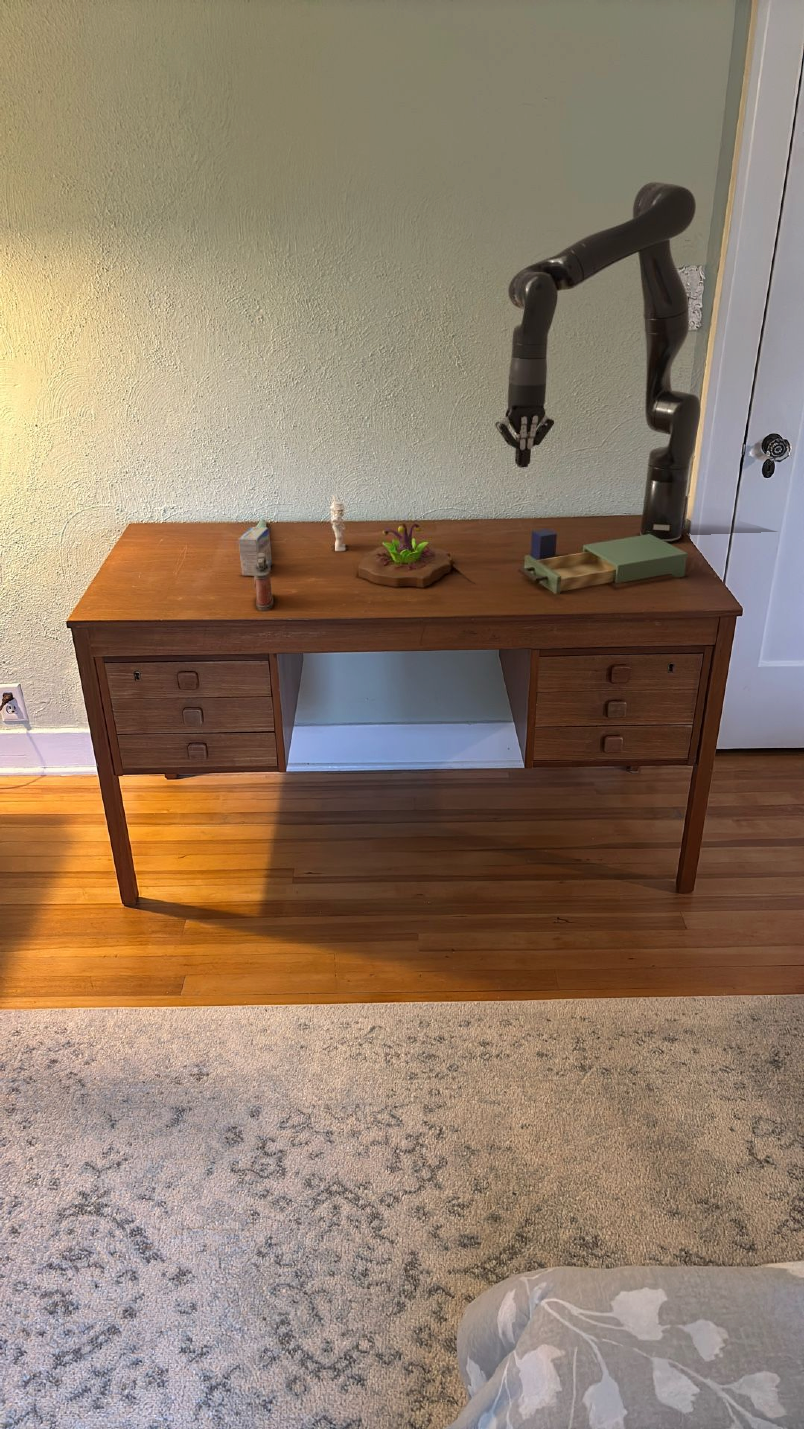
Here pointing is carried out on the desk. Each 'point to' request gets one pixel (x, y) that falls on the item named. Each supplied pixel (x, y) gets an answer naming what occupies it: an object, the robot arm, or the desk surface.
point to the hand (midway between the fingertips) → (522, 466)
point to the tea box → (543, 544)
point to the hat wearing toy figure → (338, 523)
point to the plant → (405, 562)
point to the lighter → (263, 583)
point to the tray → (568, 571)
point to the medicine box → (254, 548)
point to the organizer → (640, 557)
